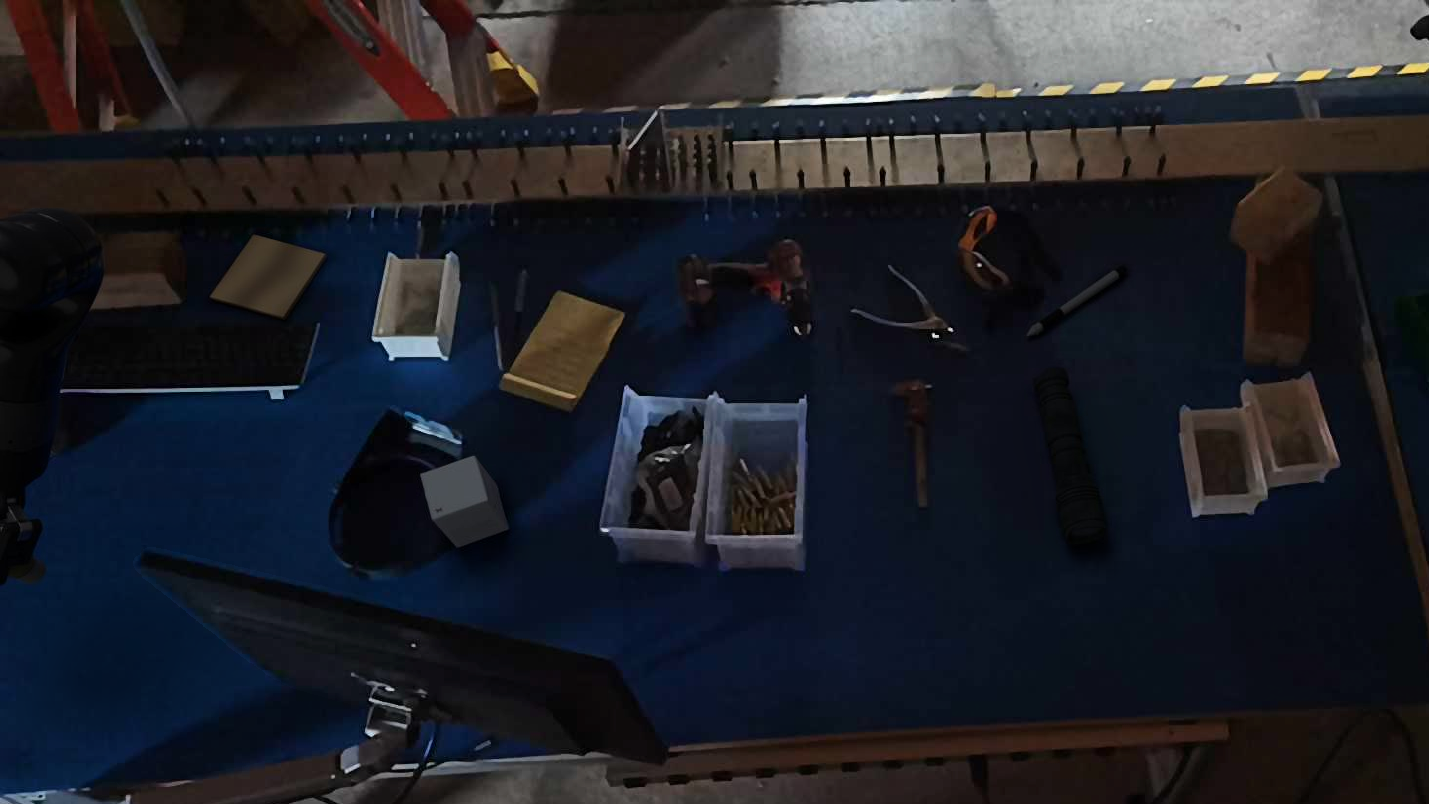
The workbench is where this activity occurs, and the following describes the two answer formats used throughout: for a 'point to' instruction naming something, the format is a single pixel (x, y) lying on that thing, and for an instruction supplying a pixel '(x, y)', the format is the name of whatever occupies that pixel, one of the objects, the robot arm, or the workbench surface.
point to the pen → (1077, 301)
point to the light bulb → (27, 570)
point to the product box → (464, 501)
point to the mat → (268, 277)
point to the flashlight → (1069, 461)
